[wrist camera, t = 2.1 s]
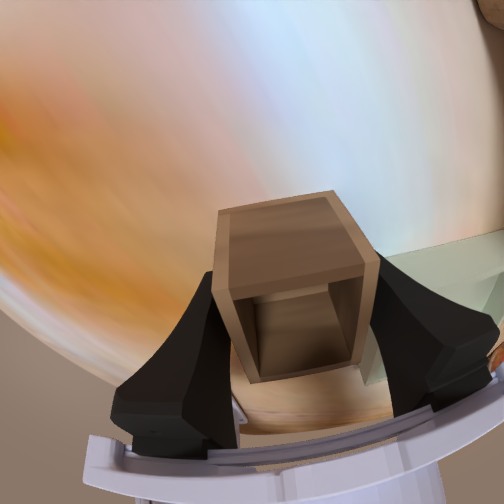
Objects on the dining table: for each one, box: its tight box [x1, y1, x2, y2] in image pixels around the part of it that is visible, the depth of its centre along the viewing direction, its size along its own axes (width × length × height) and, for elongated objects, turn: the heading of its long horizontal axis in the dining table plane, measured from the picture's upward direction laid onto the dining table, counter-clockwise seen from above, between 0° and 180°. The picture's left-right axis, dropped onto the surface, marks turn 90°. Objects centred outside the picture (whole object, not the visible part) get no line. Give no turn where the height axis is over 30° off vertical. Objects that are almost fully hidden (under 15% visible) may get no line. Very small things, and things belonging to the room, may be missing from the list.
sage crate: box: [358, 229, 504, 386], centre depth 15 cm, size 9×13×3 cm
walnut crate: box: [211, 190, 380, 384], centre depth 12 cm, size 6×5×5 cm
